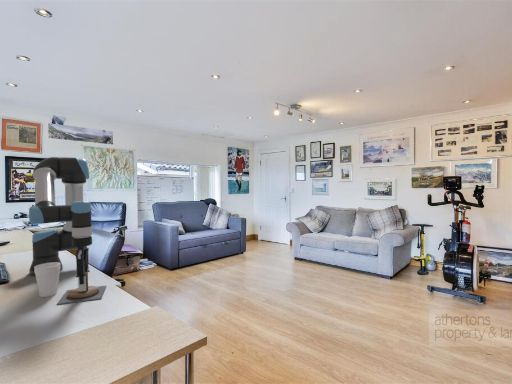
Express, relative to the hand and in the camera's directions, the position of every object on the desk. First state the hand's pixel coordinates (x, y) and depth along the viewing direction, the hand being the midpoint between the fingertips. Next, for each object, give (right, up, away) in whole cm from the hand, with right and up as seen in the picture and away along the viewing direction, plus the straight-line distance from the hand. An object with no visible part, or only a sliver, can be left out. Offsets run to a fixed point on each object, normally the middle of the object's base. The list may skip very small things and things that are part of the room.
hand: (83, 289), depth 126 cm
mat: (0, -3, 0) cm, 3 cm away
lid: (0, -2, 0) cm, 2 cm away
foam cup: (-16, -3, +1) cm, 17 cm away
